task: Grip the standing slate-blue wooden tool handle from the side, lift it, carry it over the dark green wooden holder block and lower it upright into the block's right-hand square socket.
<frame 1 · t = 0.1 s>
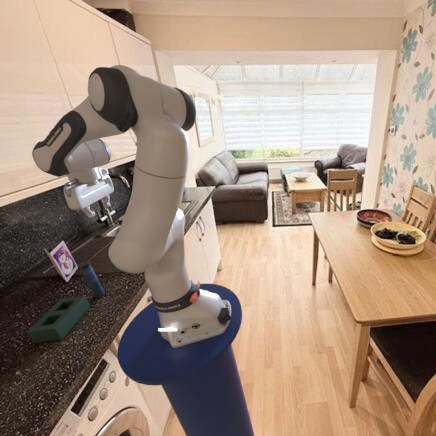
hand: (100, 211, 90), 31 cm above the countertop, tool pointing down, fingers open, 8 cm apart
holder: (65, 323, 82), on the countertop
handle: (100, 294, 94), on the countertop
greeting card: (65, 276, 106), on the countertop
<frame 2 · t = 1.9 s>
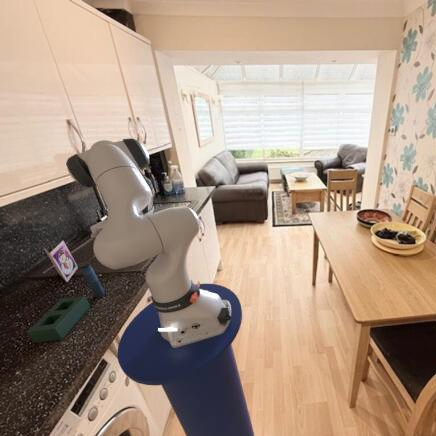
hand: (103, 236, 96), 20 cm above the countertop, tool horizontal, fingers open, 8 cm apart
nothing on the countertop moved.
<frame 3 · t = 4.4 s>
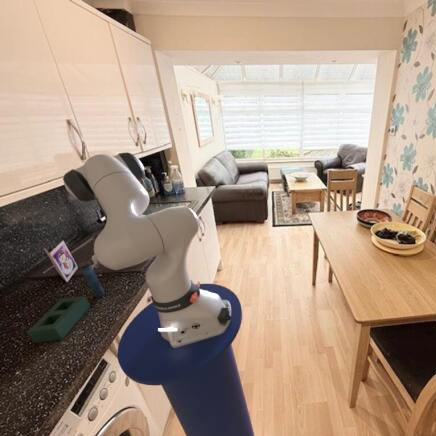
hand: (104, 267, 96), 8 cm above the countertop, tool horizontal, fingers open, 8 cm apart
nothing on the countertop moved.
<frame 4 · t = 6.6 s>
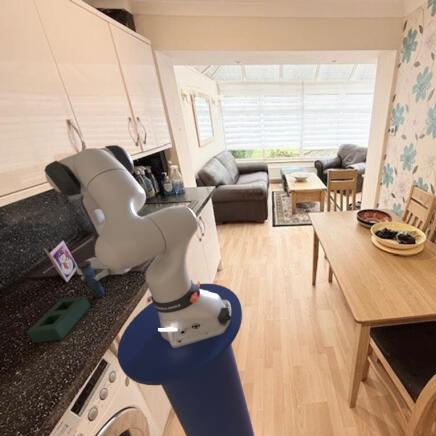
hand: (89, 279, 89), 9 cm above the countertop, tool horizontal, fingers closed on handle, 3 cm apart
handle: (100, 294, 94), on the countertop, touching gripper
everything else where it was.
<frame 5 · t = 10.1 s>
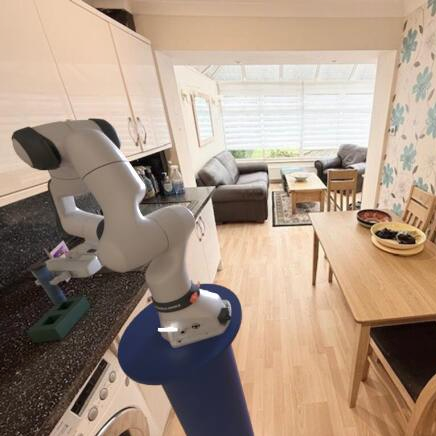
hand: (44, 283, 75), 17 cm above the countertop, tool horizontal, fingers closed on handle, 3 cm apart
handle: (60, 301, 80), point 8 cm above the countertop, touching gripper
everything else where it was.
when the fingers open (8 cm above the countertop, at t = 13.4 s): handle stays where it is, resting in holder.
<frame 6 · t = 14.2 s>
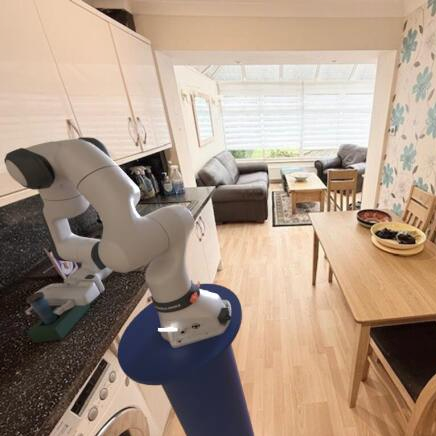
hand: (42, 313, 75), 9 cm above the countertop, tool horizontal, fingers open, 8 cm apart
handle: (58, 330, 79), resting in holder
everything else where it was.
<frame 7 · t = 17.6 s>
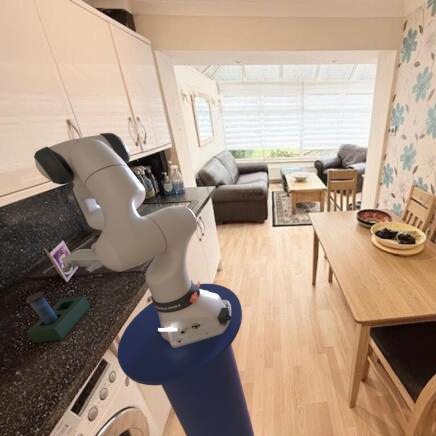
hand: (75, 270, 86), 14 cm above the countertop, tool horizontal, fingers open, 8 cm apart
nothing on the countertop moved.
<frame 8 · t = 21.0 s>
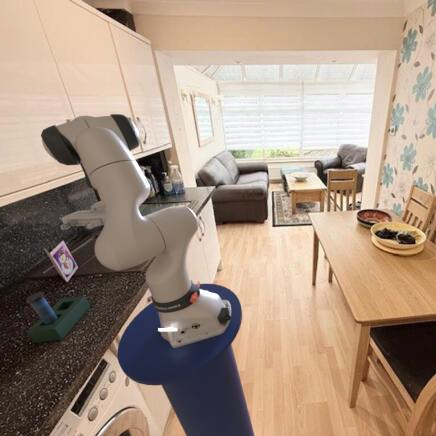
hand: (75, 227, 86), 28 cm above the countertop, tool horizontal, fingers open, 8 cm apart
nothing on the countertop moved.
at the end: handle 0.1 cm from the target spot in the holder, point 0.0 cm above the holder's base; handle tilted 0°; the gripper is holding nothing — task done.
